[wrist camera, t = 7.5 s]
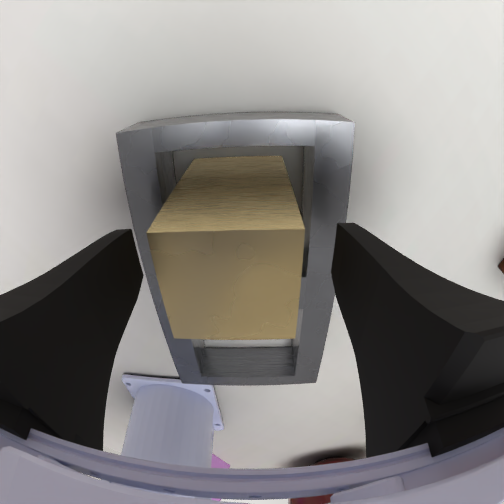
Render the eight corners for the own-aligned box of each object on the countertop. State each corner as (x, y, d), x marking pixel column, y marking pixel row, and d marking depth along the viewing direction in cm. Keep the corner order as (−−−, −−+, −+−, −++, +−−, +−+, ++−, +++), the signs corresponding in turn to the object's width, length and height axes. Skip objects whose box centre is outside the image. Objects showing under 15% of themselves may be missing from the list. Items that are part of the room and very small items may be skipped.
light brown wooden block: (280, 232, 15) (295, 338, 10) (202, 234, 15) (173, 338, 10) (281, 155, 13) (304, 229, 7) (194, 158, 13) (146, 232, 7)
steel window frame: (311, 354, 21) (315, 382, 19) (187, 355, 21) (182, 383, 19) (337, 113, 12) (354, 122, 10) (138, 122, 12) (116, 132, 10)
